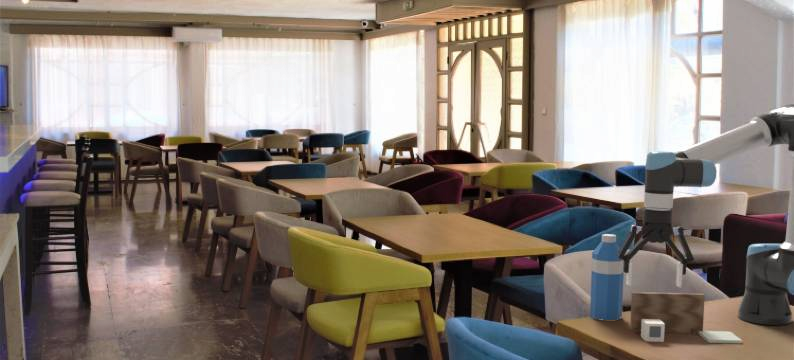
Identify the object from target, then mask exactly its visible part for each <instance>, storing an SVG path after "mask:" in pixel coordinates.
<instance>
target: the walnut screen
mask: <svg viewBox="0 0 794 360" xmlns="http://www.w3.org/2000/svg"><path fill="white" fill-rule="evenodd" d="M630 303H631V304H630V321H629V322H630V327H629V329H631V330H630V332H634V331H635V332H641V322H642V319H660V320H661V321H662V322H663V323H664V324H665V329H664V333H676V334H677V333H683V334H687V333H688V334H692V335H699V331H704V318H705V317H704V314H705V294H704V293H699V292H698V293H695V292H694V293H693V292H692V293H689V292H688V293H687V292H653V291H652V292H649V291H647V292H646V291H631V301H630ZM635 332H634V333H635Z"/></svg>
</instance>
